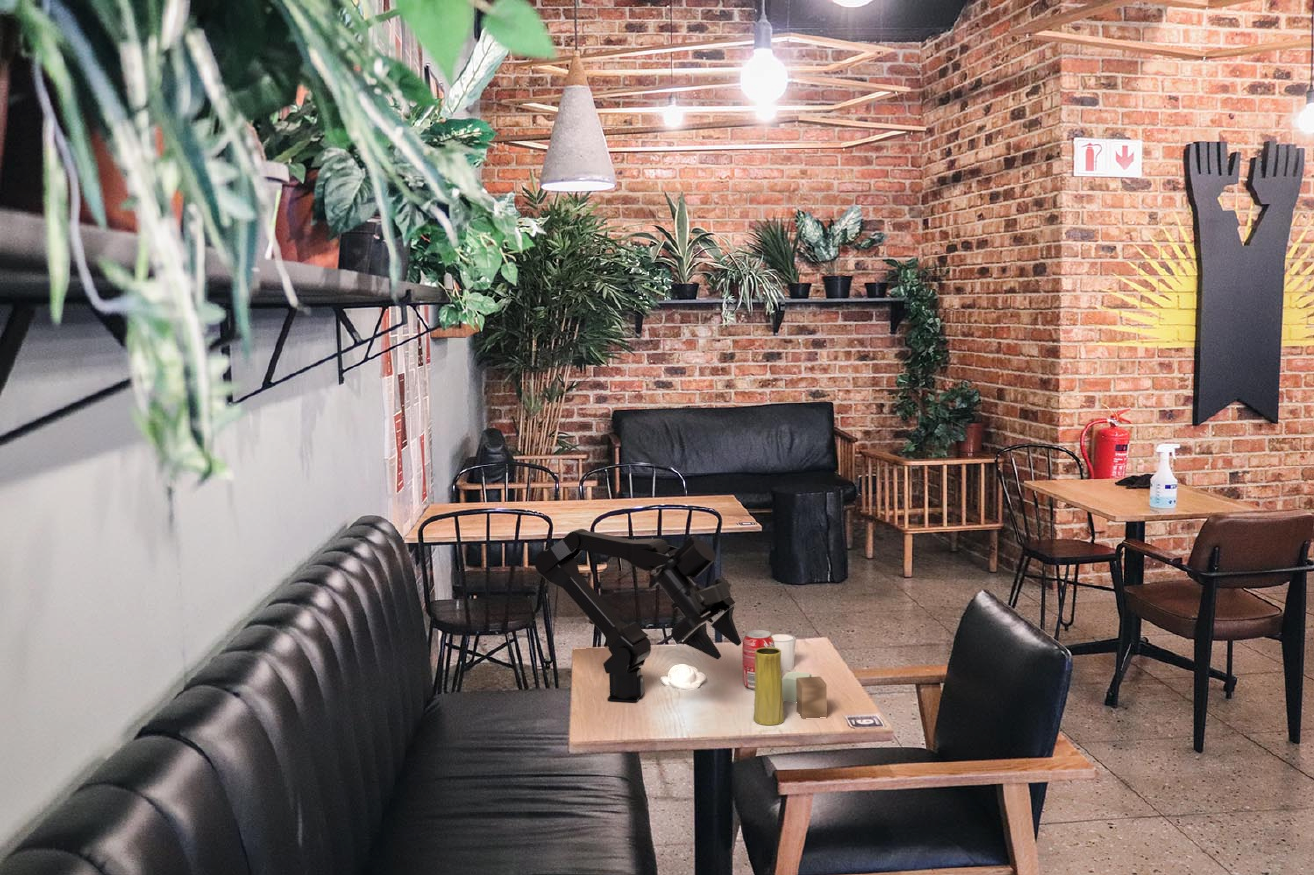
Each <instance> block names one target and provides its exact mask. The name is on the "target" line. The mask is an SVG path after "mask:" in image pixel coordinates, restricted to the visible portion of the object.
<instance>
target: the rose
mask: <svg viewBox="0 0 1314 875" xmlns="http://www.w3.org/2000/svg"><path fill="white" fill-rule="evenodd" d="M706 679H707V678H706V675H705V674H704V672H701V671H698V669H697V668H696V667H695V666H693V665H688V664H686V663H685V664H684V663H680V664H675V665H673V666H672V667H671V668H670V669H669V671H668V673H667V675H664V676H660V682H661V684H663V685H664V687H666V686H669V687H673V688H672V689H675V688H677V689H676V690H678V689H681V690H680V691H687V690H686V689H693V690H696V689H695V688H698V687H699V688H700V687H701V685H702V684H703V683H704V682H705V681H706ZM669 687H668V688H669ZM699 688H698V689H699Z"/></svg>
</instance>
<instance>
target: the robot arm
mask: <svg viewBox="0 0 1314 875" xmlns="http://www.w3.org/2000/svg"><path fill="white" fill-rule="evenodd" d="M582 551H584V552H588V553H593V554H598V555H603V556H607V557H611V558H617V559H621V560H624V561H626V562H627V563H629V564H630V565H631V566H633V567H635V568H638V569H639V570H640V569H641V570H643V571H645V572H650V571H654V570H656V569H659V568H660V567H662V568H661V569H660V570H659V571H658V572H653V573H651V574H649V581H648V588H650V589H652V588H654V587H657V586H658V585H659V586H660V587H661V589H662V591H664V592H665V594H666V595H667V596H668V598H669V599H670V600H671V602H673V603H672V604H671V605H670V607H671V608H672V609H673V610H676V609H678V610H679V611H680V613H681V614H682V615H683V617H684V618H682V620H680V621H679V622H678V623H677V624H676V625H674V627H673V628H672V629H670V630H671V631H670V632H671V633H670V634H671V635H670V637H671V638H672V639H673V640H674V641H675V643H676V644H679V643H680V642H681V645H683V646H684V645H686V646H688V647H691V648H692V649H695V650H698V651H700V652H702V653H703V654H706V655H707V656H710V657H711V658H713V659H715V660H719V659H720V658H721V657H722V655H721V652H719V649H718V648H717V646H716V645H715V643H714V641H713V640H712V639H711V637H710V636H709V634H708V632H707V631H708V630H707V622H709V623H711V625H710V626H711V627H712V628H713V629H714V630H715V631H717V632H718V633H720V634H721V635H722V636H723V637H725V639H727V640H728V641H730V642H731V643H732V644H734V645H736V646H737V647H738V646H740V645H741V644H742V641H741V638H740V634H739V633H738V630H737V628H736V624H735V622H734V619H733V614H734V611H735V606H734V605H736V601H735V600H734V599H733V598H732V594H731V591H730V589H731V588H732V584H731V583H729V582H728V580H726V578H725V577H723V576H720V577H717V578H715V579H714V580H712V585H710V586H708V587H704V586H703V585H702V584H700V583H698V584H696V585H695V583H694V582H693V580H691V578H698V576H700V575H701V574H702V573H703V572H704V571H705V570H706V569H707V568H708V567H709V566H710V565H712V564H713V563H714V562H715V561H716V558H717V556H716V553H715V551H714V549H713V548H712V547H711V545H710V544H708V543H706V542H705V541H704V540H701V539H699V538H698V537H697V536H696V535H692V536H689V537H688V539H686V541H685V542H684V543H683V544H682V545H681V546H680V547H676V546H674V545H669V544H668V542H667V541H666V540H665V539H663V538H662V539H661V538H639V539H629V538H625V537H620V536H614V535H609V534H605V533H600V532H594V531H591V530H590V531H589V530H587V529H586V528H585V529H584V528H579V529H576V530H573V531H570V532H568V534H567V535H565V536H564V537H563V538H561V540H560V541H558V542H557V543H555V544H554V545H552V546H550V547H549V548H548V549H544V550H542V551H539V553H537V555H536V556H535V560H534V563H535V564H534V568H535V570H536V571H537V573H538V574H539V576H541V577H542V578H544V579H545V581H548V582H549V583H550V584H553V585H555V586H557V587H559V588H561V589H562V590H564V591H565V593H566V594H567V595H568V596H569V597H570V598H571V599H572V601H573V602H574V603H575V604H576V605H577V607H578V608H580V610H581V611H582V612H583V613H584V614H585V616H586V617H587V618H588V619H589V620H590V621H591V622H592V624H594V626H595V627H596V628H597V629H598V630H599V631H600V632H601V634H602V635H603V636H604V637H605V641H606V644H607V645H606V646H607V648H608V651H609V652H610V654H611V655H610V657H608V658H606V660H605V661H604V663H603V664H602V665H603V669H604V671H605V674H608V676H609V679H608V680H609V696H608V697H607V701H608V702H609V701H610V702H622V703H623V702H624V703H625V702H626V703H637V702H638V701H639V700H640V698H641V697H643V694H644V693H645V689H644V686H645V685H644V684H645V683H644V675H643V674H642V666H644V665H645V663H646V662H645V661H646V660H647V658H648V657H649V656H650V655H651V653H652V652H651V651H652V643H651V641H650V639H649V637H648V636H649V634H648V633H646V632H645V631H644V630H643V629H642V628H641V626H640V625H639V624H638V623H637V622H636V621H633V622H632V623H630V624H628V623H625V622H624V621H622V619H621V618H619V616H618V615H617V614H616V613H615V612H614V611H613V609H611V607H610V606H609V605H608V604H607V602H605V600H604V599H603V598H602V597H601V596H600V595H599V594H598V593H597V592H596V590H595V589H594V588H593V587H592V585H591V584H590V583H588V581H587V580H586V579H585V578H584V577H583V576H582V574H581V573H580V569H579V566H578V562H577V560H576V557H578V556H579V555H580V554H581V552H582ZM669 563H672V564H671V565H667V564H669ZM690 577H691V578H690Z"/></svg>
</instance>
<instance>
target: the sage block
mask: <svg viewBox="0 0 1314 875" xmlns="http://www.w3.org/2000/svg"><path fill="white" fill-rule="evenodd" d="M801 677H812V673H808V672H799V671H791V670H788V671H787V673H785V675H783V676H782V695H783V702H786V701H789V703H795V704H797V703H796V702H797V701H796V678H801Z"/></svg>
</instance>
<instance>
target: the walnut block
mask: <svg viewBox="0 0 1314 875" xmlns="http://www.w3.org/2000/svg"><path fill="white" fill-rule="evenodd" d="M827 687H828V685H827V683H826V682H825V681H824V679H823V678H822V677H821V676H811V677H801V678H796V701H797V703H796V712H797V714H798V715H799V714H800V715H799V717H800V716H801V717H800V718H801V719H803V720H807V719H806V718H820V717H827V718H828V711H827V709H828V707H827V706H828V704H827V703H828V702H827V701H828V697H827V692H828V691H827V690H828V689H827ZM820 719H821V718H820Z"/></svg>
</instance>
